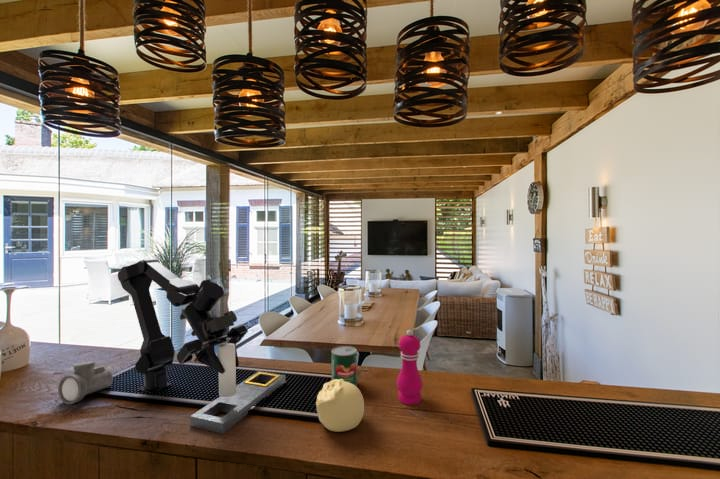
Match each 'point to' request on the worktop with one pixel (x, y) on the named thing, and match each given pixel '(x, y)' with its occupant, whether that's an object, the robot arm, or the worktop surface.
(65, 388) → the grey flashlight
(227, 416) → the grey board with holes
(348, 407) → the sculpture
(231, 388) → the peg
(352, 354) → the canned tomato
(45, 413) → the worktop surface
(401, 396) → the pepper mill
